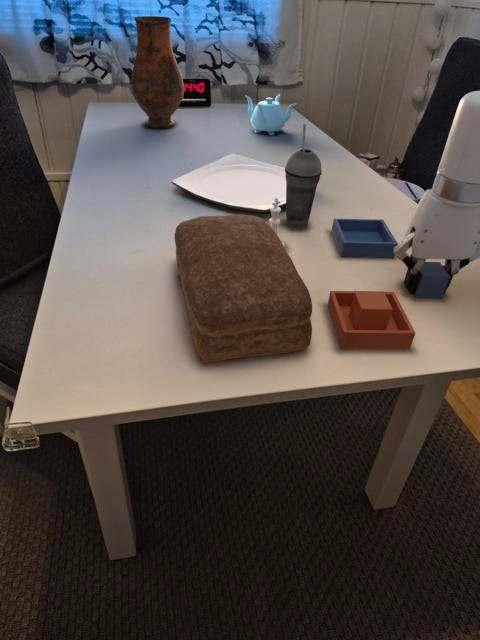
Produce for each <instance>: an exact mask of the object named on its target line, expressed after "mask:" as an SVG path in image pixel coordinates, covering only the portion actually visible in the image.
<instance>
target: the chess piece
mask: <svg viewBox="0 0 480 640" xmlns="http://www.w3.org/2000/svg"><path fill="white" fill-rule="evenodd" d="M278 204H280V201H279V200H278V198H275V202H273V203H272V205H273V207H271V208H270V211H269V212H270V215H271V217H270V218H269V219H268V223H270V224H271V225H270V227H271V228H272V229H273V230H274V232H275V233H276V234H277V235H278V225H279V224H280V223H281V220H280V219H279V216H280V213H281V212H282V207H278ZM281 242H282V244H283V246H284V248H285V249H286V246H285V245H286V244H285V242H284V241H282V240H281Z"/></svg>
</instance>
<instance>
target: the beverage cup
mask: <svg viewBox="0 0 480 640" xmlns="http://www.w3.org/2000/svg"><path fill="white" fill-rule="evenodd" d="M306 129H307V124H306V123H303V124H302V142H301V143H302V145H301V148H300V149H297V150H295V152H293V153H292V154H291V155H290V156H289V157H288V160H287V161H286V165H285V167H284V168H285V172H286V173H285V177H286V205H285V225H286V227H287V228H289V229H291V230H294V231H302V230H305V229H307V228H308V224H309V221H310V217H311V213H312V209H313V205H314V200H315V196H316V192H317V188H318V184H319V182H320V180H321V176H322V174H323V172H322V171H323V170H322V162H321V159H320V157H319V156H318V154H317V153H316V152H315V151H313V150H311V149H308V148H306V132H307V131H306Z"/></svg>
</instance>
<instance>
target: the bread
mask: <svg viewBox="0 0 480 640" xmlns="http://www.w3.org/2000/svg"><path fill="white" fill-rule="evenodd" d="M173 238H174V243H175V260H176V263H177V268H178V273H179V277H180V285H181V289H182V291H183V294H184V299H185V304H186V305H185V306H186V312H187V313H186V314H187V317H188V323H189V326H190V327H189V328H190V331H191V336H192V339H193V344H194V348H195V352H196V355H198V356H199V357H200V358H201V359H202V361H203V363H213V362H220V361H226V360H233V359H239V358H247V357H253V356H255V357H257V356H265V355H275V354H286V353H293V352H297V351H301V350H305V349H307V348H309V346H311V343H312V336H313V325H312V320H311V318H312V315H313V301H312V297H311V294H310V291H309V289H308V287H307V285H306V284H305V282H304V280H303V279H302V277H301V276H300V274H299V272H298V270H297V267H296V266H295V263H294V261H293V259H292V257H291V256H290V255H289V253H288V252H287V250H286V247H285V248H284V246H283V244H282V242H283V241H282V240H281V239H280V237H279V236H278V233H277V234H276V233H275V232H274V230H273V229H272V228H271V225H270V224H269V223H268V222H267V221H266V220H265V219H264V218H262V217H259V216H256V215H252V214H244V213H243V214H241V213H240V214H229V215H228V214H226V215H206V216H205V215H201V216H198V217H194V218H191V219H186V220H184V221H181V222H180V223H179V224H177V225H176V227H175V231H174V237H173ZM281 241H282V242H281Z"/></svg>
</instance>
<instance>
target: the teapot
mask: <svg viewBox="0 0 480 640" xmlns="http://www.w3.org/2000/svg"><path fill="white" fill-rule="evenodd" d="M244 96H245V98H246V100H247V114H248V116H249V118H250V124H251V126H252V128H254V129H255V130H254V133H262V132H267V133H268V135H269V136H274V135H275V132H281V130H282V129H283V128H284V127H285V126H286V123H287V122H289V121H290V118H291V115H292V111H293V108H294V107H295V106H296V105H297V103H291V104H289V105H288V107H287V110H286V113H285V111H284V109H283V106H282V105H281V103H280V97H281V94H280V93H277V94H276V96H275V98H273V97H266V98H265V100H261V101H259V102H258V103H257V104H256V106H255V107H254V106H253V100H252V98H251V96H249V95H248V94H247V95H246V94H245V95H244Z"/></svg>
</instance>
